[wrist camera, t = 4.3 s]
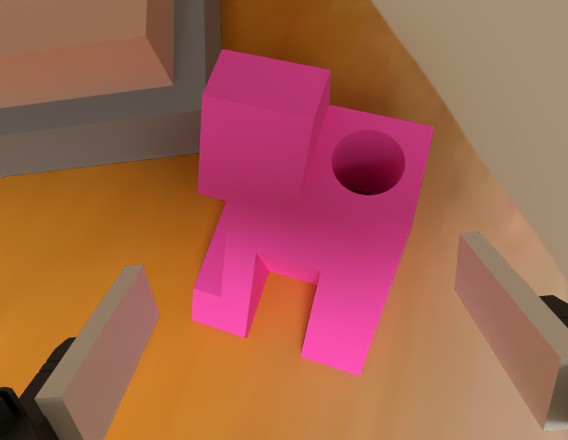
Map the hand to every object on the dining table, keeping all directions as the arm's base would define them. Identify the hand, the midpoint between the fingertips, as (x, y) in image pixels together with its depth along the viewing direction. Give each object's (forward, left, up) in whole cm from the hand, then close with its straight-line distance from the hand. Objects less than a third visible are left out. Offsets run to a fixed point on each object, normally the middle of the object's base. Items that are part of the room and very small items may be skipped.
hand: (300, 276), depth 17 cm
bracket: (0, +3, -8) cm, 9 cm away
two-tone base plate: (-14, +21, -8) cm, 26 cm away
